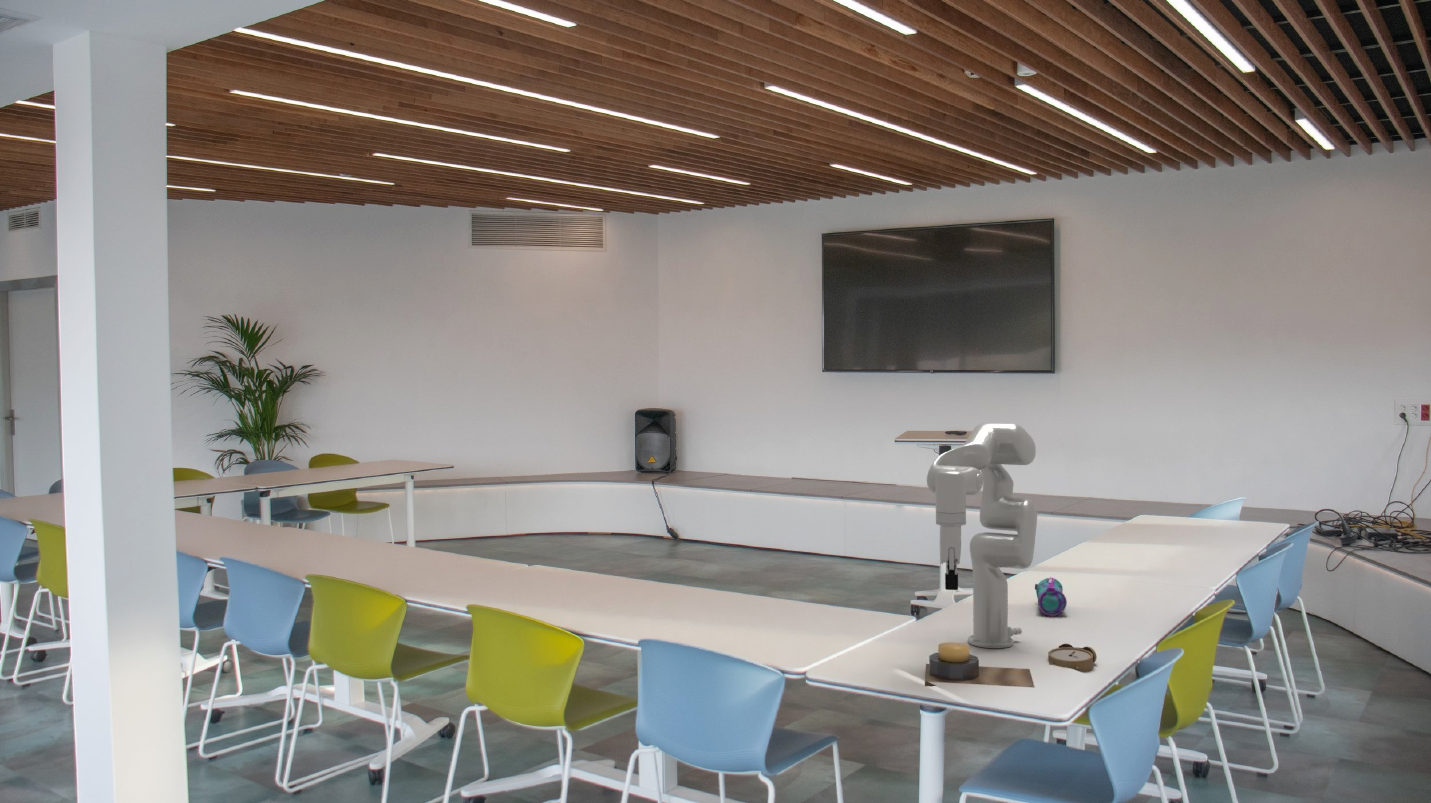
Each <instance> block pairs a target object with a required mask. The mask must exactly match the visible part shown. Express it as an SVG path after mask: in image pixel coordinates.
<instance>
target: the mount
mask: <svg viewBox="0 0 1431 803" xmlns="http://www.w3.org/2000/svg"><path fill="white" fill-rule="evenodd" d="M1032 676H1033V675H1032V673H1031V669H1030V668H1021V667H1020V668H1018V667H1017V668H1016V667H998V666H995V667H994V666H980V665H979V676H978V677H977V678H975V679H972V680H965V681H952V680H944V679H939V678H936V677H934V676H932V675H930V672H929V663H926V664H925V675H924V687H932V686H937V685H935V684H934V683H949V684H965V685H966V684H967V685H984V686H986V685H987V686H1000V687H1001V686H1004V687H1023V688H1035V684H1034V680H1033V677H1032Z"/></svg>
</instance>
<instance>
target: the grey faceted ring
mask: <svg viewBox="0 0 1431 803" xmlns="http://www.w3.org/2000/svg"><path fill="white" fill-rule="evenodd" d="M928 660H929V661H928V664H929V672H930V675H932V676H934V677H936V678H939V679H944V680H952V681H965V680H972V679H975V678H977V677H978V676H979V666H980V661H979V660H980V659H979V657H978V656H976V655H974V654H971V653H969V660H968V661H965V662H948V661H944V660H941V659H939V656H938V652H934V653H932V654H930V655H929V656H928Z"/></svg>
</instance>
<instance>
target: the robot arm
mask: <svg viewBox="0 0 1431 803" xmlns="http://www.w3.org/2000/svg"><path fill="white" fill-rule="evenodd" d="M1036 451H1037V450H1036V444H1035V441H1034V439H1033V437H1032V436H1031V434H1029V433H1028V431H1026V429H1025V428H1023V427H1022V426H1021V425H1019V424H1017V423H1013V422H984V423H980V424H978V425H976V426H975V427H974V428H973V430H972V431H971V433H970V434H969V436H968V438H967V439H966V440H965V442H964V443H963V445H959V446H957V447H954V448H953V449H950V450H948V451H945V452H943V453H942V454H940V455H939V456H937V457H936V459H935V460H934V461H933V463H932V464H931V466H930V467H929V469H928V472H927V475H926V484H927V485H926V486H927V487H928V490H929V491H931V492H932V493H934V494H935V525H937V526H939V562H940V564H941V565H943V564H944V563H945V573H944V580H945V581H944V582H945V584H944V585H945V586H944V587H945V590H946V591H958V590H959V573H958V565H959V564H960V563H961V555H962V554H961V552H962V526H965V525H966V524H967V513H966V512H967V510H966V506H967V505H966V502H967V501H966V500H967V499H966V497H967V496H975V495H977V494H978V493H980V491H981V490H982V491H981V500H980V501H981V502H980V509H979V523H980V524H981V526H982V527H983V528H986V529H990V530H996V531H997V530H998V531H1009V532H1010V531H1011V532H1017V534H1016V533H1015V534H1013V533H1003V532H991V531H990V532H989V531H987V532H979V533H977V534H974V535H973V536H972V537H971V539H970V542H969V553H970V560H971V566H972V583H973V586H972V587H973V589H972V591H973V592H972V594H973V595H972V598H973V599H972V602H973V603H972V610H973V611H972V612H973V613H972V615H973V618H972V620H973V623H972V624H973V625H972V627H973V628H972V629H973V631H972V635H970V636H969V635H968V637H967V643H968V644H970V645H972V646H975V647H979V648H984V649H985V648H986V649H1005V648H1011V647H1012V646H1013V645H1014V639H1013V638H1012V637H1013V636H1017V635H1019V636H1020V635H1021V634H1022V633H1023V631H1022V630H1023V629H1021V627H1013V628H1012V627H1011V626H1009V623H1008V622H1009V621H1008V620H1009V619H1008V618H1009V616H1008V614H1009V612H1008V611H1009V608H1008V606H1009V603H1008V601H1009V600H1008V599H1009V593H1008V591H1009V590H1008V589H1009V588H1008V584H1009V583H1008V580H1007V578H1006V576H1005V575H1004V572H1003V571H1002V569H1001V568H1005V569H1008V568H1009V569H1017V570H1025V569H1028V568H1029V567H1030V566H1031V565H1032V563H1033V561H1034V552H1035V546H1036V545H1035V544H1036V535H1037V534H1036V533H1037V525H1038V524H1037V523H1038V510H1037V505H1036V504H1035V502H1034V501H1033V500H1031V499H1030V498H1023V497H1013V495H1014V494H1013V492H1014V480H1013V478H1012V477H1011V475H1010V473H1009V472H1008V471H1007V469H1005V467H1004V466H1003V465H1009V466H1010V465H1011V466H1027V465H1030V464H1031V463H1033V461H1034V460H1035V458H1036V454H1037V452H1036Z"/></svg>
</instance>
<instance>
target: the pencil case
mask: <svg viewBox="0 0 1431 803" xmlns="http://www.w3.org/2000/svg"><path fill="white" fill-rule="evenodd" d="M1062 585H1063V584H1062V583H1061V582H1060V581H1059V580H1058V579H1056V578H1054V577H1051V576H1050V577H1046V578H1044V579H1042V580H1040V581H1039V583H1035V584H1034V590H1035V592H1036V593H1035V594H1036V597H1037V603H1038V604H1037V605H1038V607H1039V609H1040V610H1041V612H1042V613H1043V614H1044V615H1045V616H1049V617H1056V616H1057V615H1060V614H1061V613H1063V611H1064V610H1065V609H1066V608H1067V603H1068V601H1067V597H1066V596H1065V594H1064V593H1063V592H1064V591H1063V590H1064V589H1063V586H1062Z"/></svg>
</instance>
